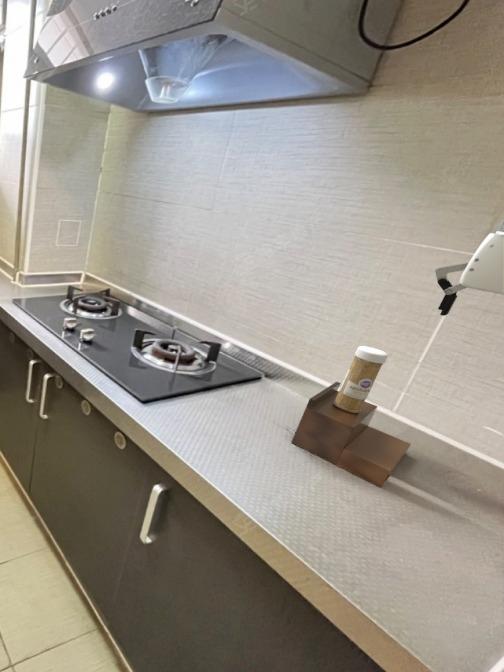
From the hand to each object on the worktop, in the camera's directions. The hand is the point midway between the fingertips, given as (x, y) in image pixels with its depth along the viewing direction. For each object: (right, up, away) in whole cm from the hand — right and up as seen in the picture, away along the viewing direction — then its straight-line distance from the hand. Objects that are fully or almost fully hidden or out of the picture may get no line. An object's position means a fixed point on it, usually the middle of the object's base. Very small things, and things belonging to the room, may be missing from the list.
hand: (480, 322), depth 72 cm
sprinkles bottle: (-17, -18, +9) cm, 26 cm away
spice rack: (-16, -27, +11) cm, 33 cm away
